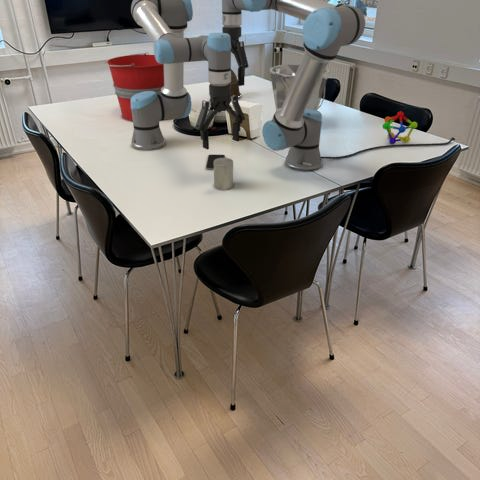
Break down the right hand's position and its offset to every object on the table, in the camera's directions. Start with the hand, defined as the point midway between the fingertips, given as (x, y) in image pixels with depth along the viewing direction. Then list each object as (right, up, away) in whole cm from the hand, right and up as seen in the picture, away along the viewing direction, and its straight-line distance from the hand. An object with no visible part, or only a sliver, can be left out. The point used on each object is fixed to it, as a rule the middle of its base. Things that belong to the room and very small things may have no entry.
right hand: (232, 82), depth 184 cm
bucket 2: (+33, -5, +49) cm, 59 cm away
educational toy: (+78, -20, +26) cm, 84 cm away
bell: (-5, +25, +97) cm, 100 cm away
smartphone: (-7, -33, +4) cm, 34 cm away
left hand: (-3, -31, -24) cm, 39 cm away
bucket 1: (-50, +4, +63) cm, 81 cm away
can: (-3, -45, -15) cm, 48 cm away
